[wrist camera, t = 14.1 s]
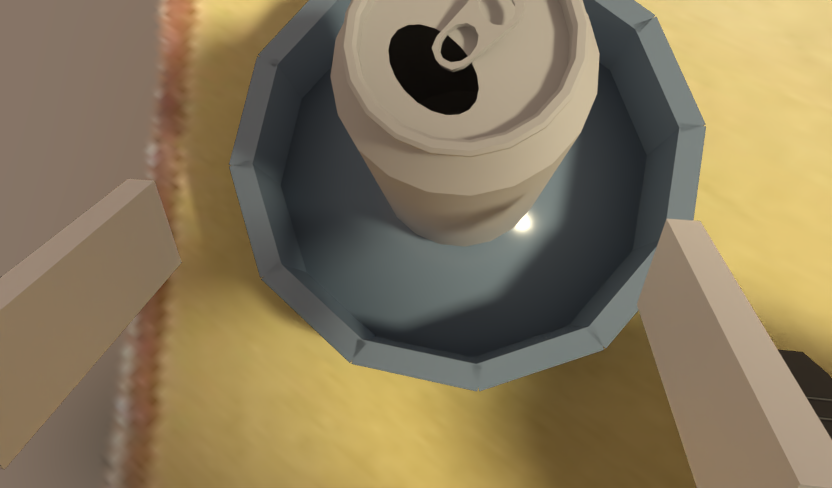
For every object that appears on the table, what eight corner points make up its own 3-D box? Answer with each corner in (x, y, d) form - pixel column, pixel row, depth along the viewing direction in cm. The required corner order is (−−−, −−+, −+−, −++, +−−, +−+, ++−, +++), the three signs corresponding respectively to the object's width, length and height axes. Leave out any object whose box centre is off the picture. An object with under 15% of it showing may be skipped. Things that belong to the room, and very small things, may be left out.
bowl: (570, -48, 26) (593, -121, 22) (719, 296, 23) (781, 290, 19) (233, 73, 27) (189, 24, 23) (335, 424, 24) (307, 448, 19)
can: (352, 163, 25) (255, 19, 13) (470, 69, 25) (482, -158, 13) (449, 282, 23) (442, 242, 12) (572, 181, 24) (688, 42, 12)
